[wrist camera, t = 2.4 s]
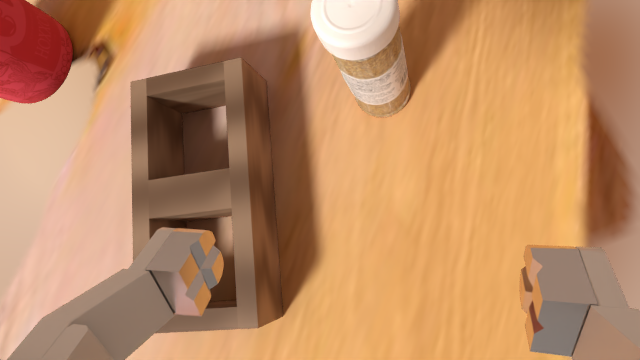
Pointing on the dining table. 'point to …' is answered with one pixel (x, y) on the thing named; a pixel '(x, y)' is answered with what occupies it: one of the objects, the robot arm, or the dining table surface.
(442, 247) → the dining table surface
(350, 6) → the sprinkles bottle
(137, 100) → the rail
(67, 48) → the wine bottle
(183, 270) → the robot arm
